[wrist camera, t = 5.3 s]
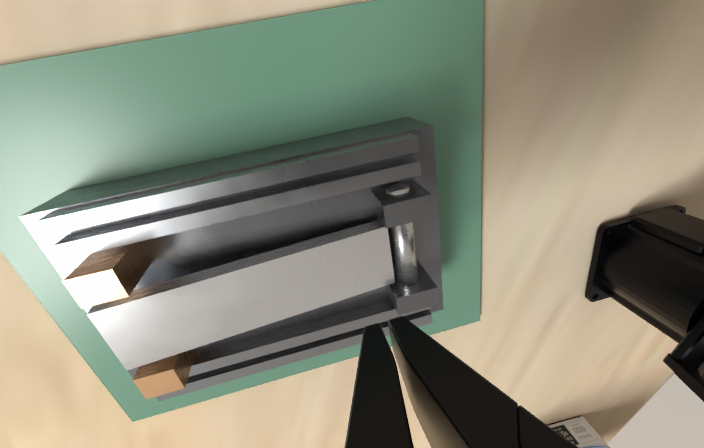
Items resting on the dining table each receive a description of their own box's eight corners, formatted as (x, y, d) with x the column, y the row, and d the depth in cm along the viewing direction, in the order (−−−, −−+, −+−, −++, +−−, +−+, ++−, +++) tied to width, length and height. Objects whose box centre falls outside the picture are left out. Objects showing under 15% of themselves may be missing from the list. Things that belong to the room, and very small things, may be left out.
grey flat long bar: (388, 273, 16) (395, 282, 15) (132, 355, 14) (126, 370, 13) (380, 219, 14) (387, 226, 14) (96, 301, 12) (86, 314, 12)
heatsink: (422, 278, 21) (463, 338, 16) (163, 349, 19) (125, 438, 14) (407, 116, 16) (459, 134, 11) (67, 190, 14) (-34, 245, 10)
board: (477, 316, 24) (480, 320, 23) (135, 415, 21) (132, 421, 21) (478, -17, 15) (483, -19, 14) (-115, 87, 12) (-127, 87, 12)
